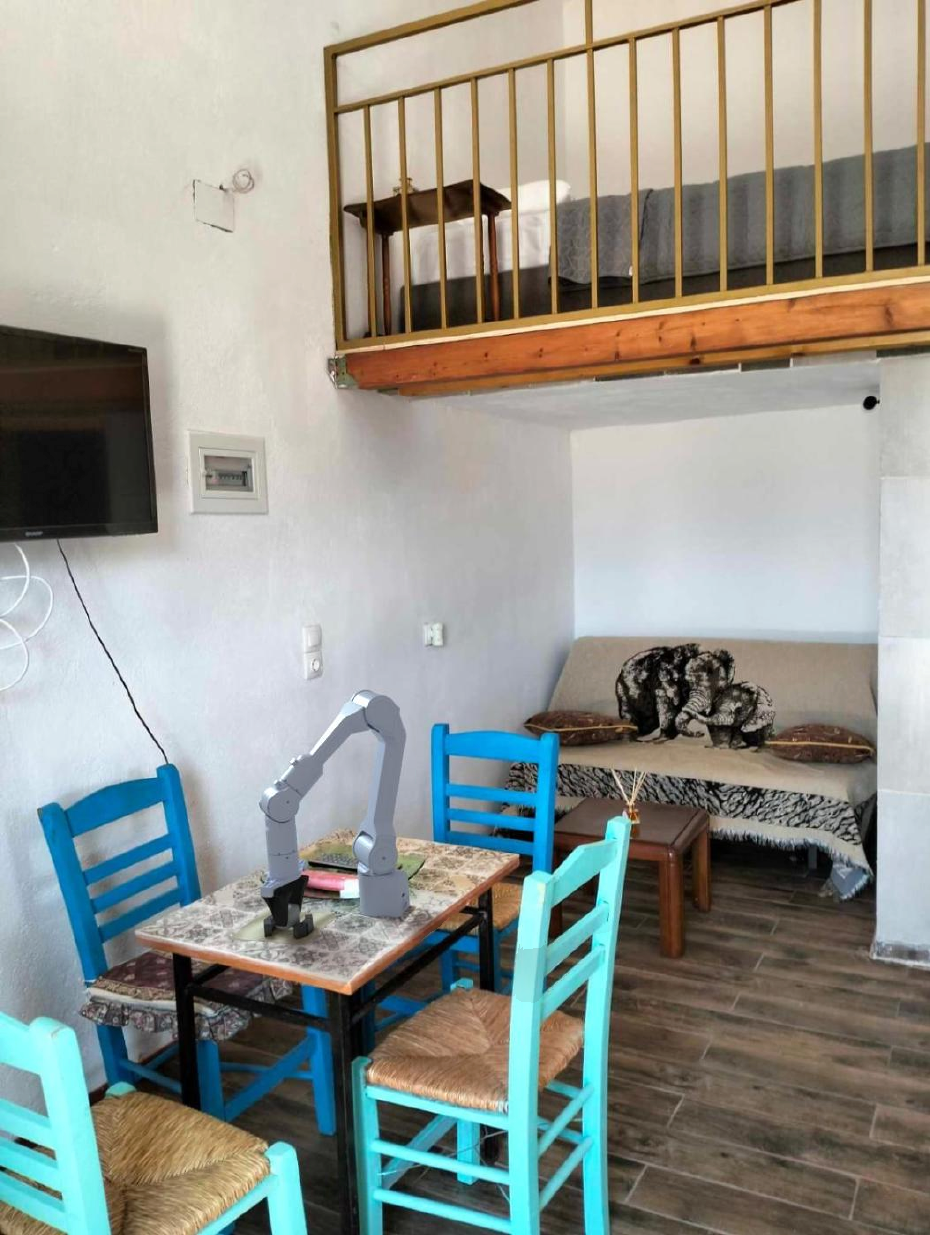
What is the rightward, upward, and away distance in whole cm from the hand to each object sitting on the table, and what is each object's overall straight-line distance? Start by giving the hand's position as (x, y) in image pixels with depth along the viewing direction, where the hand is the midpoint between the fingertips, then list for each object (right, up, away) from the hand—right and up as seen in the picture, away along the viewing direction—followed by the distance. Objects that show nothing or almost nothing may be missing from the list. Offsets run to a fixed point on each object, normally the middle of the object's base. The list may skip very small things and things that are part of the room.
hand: (288, 920), depth 188 cm
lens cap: (0, -1, 0) cm, 1 cm away
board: (-1, -3, +3) cm, 4 cm away
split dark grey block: (0, -2, 0) cm, 2 cm away
